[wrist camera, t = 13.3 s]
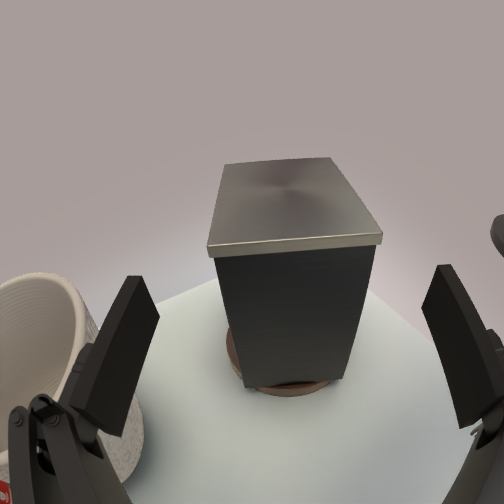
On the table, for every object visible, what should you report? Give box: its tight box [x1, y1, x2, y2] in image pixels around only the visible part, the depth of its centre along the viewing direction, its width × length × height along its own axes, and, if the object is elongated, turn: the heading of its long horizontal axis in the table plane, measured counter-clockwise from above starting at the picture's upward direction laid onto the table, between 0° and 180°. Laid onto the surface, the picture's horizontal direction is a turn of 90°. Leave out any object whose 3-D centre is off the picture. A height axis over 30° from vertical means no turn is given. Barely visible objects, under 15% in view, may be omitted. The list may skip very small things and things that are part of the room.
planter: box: [0, 272, 144, 484], centre depth 17 cm, size 17×17×15 cm
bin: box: [207, 158, 383, 388], centre depth 25 cm, size 9×14×16 cm, turn 0°
